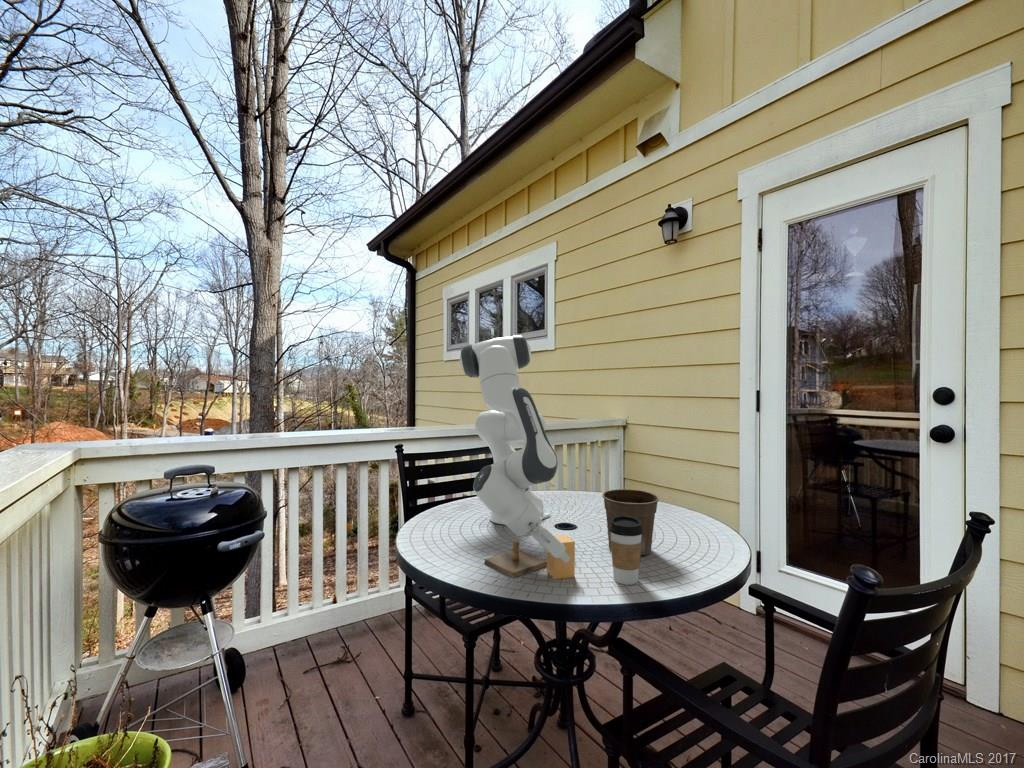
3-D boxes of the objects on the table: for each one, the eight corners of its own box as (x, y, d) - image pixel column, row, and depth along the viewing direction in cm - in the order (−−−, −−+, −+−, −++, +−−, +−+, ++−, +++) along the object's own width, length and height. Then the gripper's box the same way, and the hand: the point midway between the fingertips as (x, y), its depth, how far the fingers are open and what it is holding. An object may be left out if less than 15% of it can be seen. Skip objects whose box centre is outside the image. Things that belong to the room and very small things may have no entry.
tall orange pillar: (546, 570, 125) (546, 536, 125) (566, 568, 127) (566, 534, 127) (554, 579, 120) (554, 543, 120) (574, 576, 122) (574, 541, 122)
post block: (518, 553, 138) (518, 531, 138) (547, 565, 129) (547, 542, 129) (484, 563, 130) (484, 540, 130) (512, 577, 121) (512, 553, 121)
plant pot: (661, 562, 131) (662, 504, 131) (601, 558, 134) (601, 501, 134) (656, 542, 147) (656, 490, 147) (602, 539, 150) (602, 487, 150)
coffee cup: (637, 572, 124) (637, 515, 124) (647, 586, 116) (648, 525, 116) (605, 573, 124) (605, 515, 124) (613, 587, 116) (613, 525, 115)
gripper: (546, 520, 111) (585, 558, 114) (521, 499, 131) (554, 531, 134) (528, 541, 110) (567, 578, 113) (505, 516, 130) (539, 549, 133)
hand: (560, 553), depth 123 cm, fingers open, 8 cm apart
